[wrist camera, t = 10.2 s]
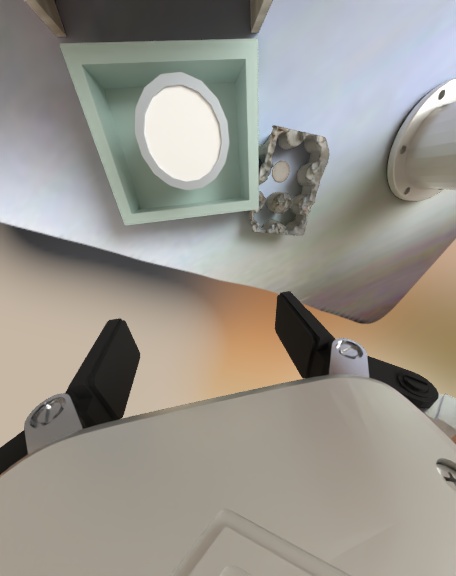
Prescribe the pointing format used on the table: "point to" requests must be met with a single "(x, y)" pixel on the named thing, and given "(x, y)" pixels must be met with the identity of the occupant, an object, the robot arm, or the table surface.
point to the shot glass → (181, 130)
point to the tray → (121, 120)
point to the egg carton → (306, 177)
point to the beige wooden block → (48, 13)
